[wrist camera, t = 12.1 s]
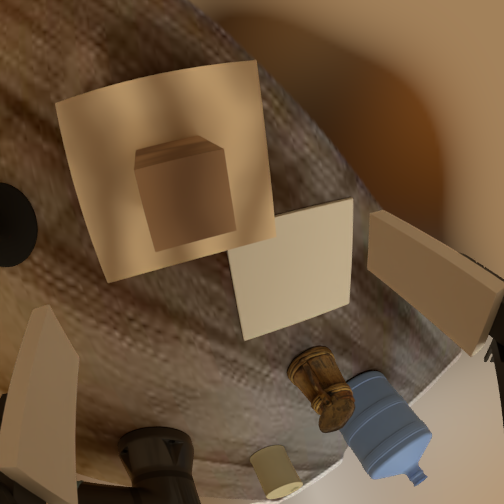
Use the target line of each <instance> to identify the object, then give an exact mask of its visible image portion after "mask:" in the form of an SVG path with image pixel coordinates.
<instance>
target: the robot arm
mask: <svg viewBox="0 0 504 504" xmlns="http://www.w3.org/2000/svg"><path fill="white" fill-rule="evenodd" d="M367 269H368V270H369V271H371V272H372V273H373V274H374V275H375V276H377V277H378V278H379V279H380V280H382V281H383V282H384V283H385V284H387V285H388V286H389V287H390V288H391V289H393V290H394V291H395V292H396V293H398V294H399V295H400V296H401V297H402V298H404V299H405V300H406V301H407V302H408V303H410V304H411V305H412V306H413V307H414V308H416V309H417V310H418V311H419V312H420V313H421V314H423V315H424V316H425V317H426V318H427V319H428V320H430V321H431V322H432V323H433V324H434V325H435V326H437V327H438V328H439V329H440V330H441V331H442V332H443V333H445V334H446V335H447V336H448V337H449V338H450V339H451V340H453V341H454V342H455V343H456V344H457V345H458V346H459V347H460V348H462V349H463V350H464V351H465V352H466V353H467V354H468V355H469V356H470V357H472V356H473V355H474V354H476V353H477V352H478V351H479V350H480V349H482V348H483V346H484V344H485V342H486V340H487V337H488V335H490V336H491V337H492V338H493V340H492V342H491V345H490V347H489V349H488V351H487V353H486V355H485V357H484V362H487V360H488V358H489V356H490V354H491V353H492V354H493V356H492V358H491V361H490V362H494V363H495V369H496V374H497V380H498V385H499V392H500V400H501V407H502V416H503V426H504V279H502V278H501V277H499V276H498V275H496V274H495V273H493V272H492V271H490V270H489V269H487V268H486V267H485V268H484V267H483V265H481V264H479V263H476V262H475V260H473V259H472V258H470V257H468V256H467V255H464V254H462V253H459V252H456V251H455V250H453V249H451V248H450V247H448V246H447V245H445V244H443V243H442V242H440V241H438V240H436V239H435V238H433V237H431V236H429V235H428V234H426V233H424V232H422V231H421V230H419V229H417V228H416V227H414V226H412V225H410V224H408V223H407V222H405V221H403V220H401V219H399V218H397V217H396V216H394V215H392V214H390V213H388V212H386V211H384V210H381V211H377V212H374V213H370V225H369V247H368V263H367ZM79 359H80V357H79V356H78V354H77V352H76V351H75V349H74V348H73V346H72V344H71V343H70V341H69V339H68V337H67V336H66V334H65V332H64V331H63V329H62V327H61V325H60V323H59V322H58V320H57V318H56V316H55V314H54V312H53V311H52V309H51V307H50V305H45V306H42V307H38V308H35V309H33V311H32V313H31V316H30V319H29V322H28V325H27V328H26V331H25V334H24V337H23V340H22V343H21V346H20V350H19V353H18V356H17V360H16V363H15V367H14V371H13V374H12V378H11V382H10V386H9V390H8V393H6V394H2V396H1V398H0V504H46V502H47V503H48V504H201V503H200V500H199V496H198V493H197V490H196V487H195V484H194V481H193V477H192V466H193V456H194V449H193V445H192V441H191V439H190V437H189V436H188V435H187V434H185V433H183V432H181V431H179V430H175V429H171V428H163V427H152V428H144V429H139V430H135V431H132V432H130V433H128V434H126V435H124V436H123V437H122V438H121V439H120V440H119V442H118V452H119V457H120V459H121V461H122V463H123V465H124V467H125V469H126V471H127V473H128V475H129V477H130V479H131V482H132V487H124V486H114V485H104V484H97V483H90V482H84V481H82V480H81V481H76V456H75V425H76V398H77V382H78V370H79Z"/></svg>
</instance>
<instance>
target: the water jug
mask: <svg viewBox="0 0 504 504" xmlns="http://www.w3.org/2000/svg"><path fill="white" fill-rule="evenodd" d="M346 384H348V385H349V386H350V388H351V390H352V392H353V397H354V399H355V402H354V404H355V410H354V412H353V415H352V416H351V418H350V419H349V420H348V422H347V423H346V424H345V425H344V427H343V428H341V429H339V430H340V432H341V433H342V435H343V437H344V439H345V441H346V443H347V444H348V445H349V447H351V449H352V450H353V452H354V453H355V455H356V456H357V458H358V459H359V461H360V462H361V464H362V466H363V468H364V470H365V471H366V472H367V474H369V476H370V477H371V478H372V479H381V478H385V477H390V476H394V475H399V474H406V475H407V476H408V478H409V479H410V481H412V482H413V484H414V486H417V485H418V484H420V483H421V482H422V481H424V480H425V479H426V478H427V476H426V475H425V474H424V473H423V470H421V468H420V467H419V466H418V462H419V460H420V458H421V456H422V455H423V453H424V451H425V449H426V447H427V445H428V444H429V442H430V440H431V438H432V433H431V432H430V430H429V429H428V427H427V426H426V425H425V424H424V422H423V421H421V420H420V419H419V418H418V416H417V415H416V414H415V413H414V412H413V411H412V409H411V408H410V407H409V406H408V404H407V402H406V401H405V400H404V399H403V397H402V396H400V395H399V394H398V393H397V391H396V390H395V389H394V388H393V387H392V386H391V384H390V383H389V382H388V381H387V379H386V377H385V376H384V375H383V374H382V373H380V372H378V371H370V372H366V373H363V374H360V375H358V376H356V377H355V378H353V379H351V380H350V381H348V382H347V383H346Z"/></svg>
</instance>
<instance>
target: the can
mask: <svg viewBox="0 0 504 504" xmlns="http://www.w3.org/2000/svg"><path fill="white" fill-rule="evenodd" d="M250 462H251V463H252V465H253V468H254V470H255V472H256V474H257V477H258V479H259V481H260V484H261V486H262V488H263V490H264V493H265V495H266V498H268V499H276V498H280V497H283V496H286V495H288V494H291V493H293V492H294V491H296V490H298V489H299V488H300V487H301V486H302V485H303V483H302V481H301V480H300V478H299V476H298V474H297V473H296V471H295V469H294V467H293V465H292V463H291V461H290V459H289V457H288V455H287V453H286V451H285V448H284V447H283V446H281V445H274V446H269V447H266V448H263V449H261V450H259V451H257V452H256V453H254V454H253V455H252V456H251V458H250Z"/></svg>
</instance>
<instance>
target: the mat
mask: <svg viewBox="0 0 504 504" xmlns="http://www.w3.org/2000/svg"><path fill="white" fill-rule="evenodd" d="M274 217H275V227H276V237H274V238H270V239H267V240H263V241H259V242H256V243H252V244H248V245H245V246H241V247H237V248H234V249H230V250H227V255H228V261H229V266H230V272H231V277H232V282H233V288H234V293H235V298H236V304H237V309H238V314H239V320H240V325H241V330H242V335H243V339H244V341H246V340H249V339H252V338H255V337H258V336H261V335H264V334H267V333H270V332H273V331H276V330H279V329H281V328H284V327H287V326H290V325H293V324H296V323H299V322H301V321H304V320H307V319H310V318H312V317H315V316H318V315H320V314H323V313H326V312H328V311H331V310H334V309H336V308H339V307H341V306H344V305H347V304H349V296H350V281H351V263H352V237H353V198H351V197H350V198H345V199H341V200H337V201H332V202H328V203H324V204H320V205H315V206H311V207H307V208H303V209H299V210H294V211H290V212H286V213H282V214H278V215H274Z"/></svg>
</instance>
